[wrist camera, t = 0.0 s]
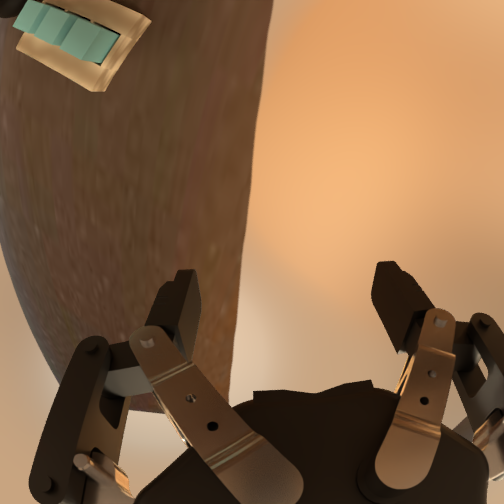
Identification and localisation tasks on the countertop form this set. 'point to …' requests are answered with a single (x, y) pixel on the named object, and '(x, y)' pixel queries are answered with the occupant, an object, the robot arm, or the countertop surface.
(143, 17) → the button board
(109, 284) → the countertop surface
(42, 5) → the button
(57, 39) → the button middle
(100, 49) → the button
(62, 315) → the countertop surface
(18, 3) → the cola bottle
